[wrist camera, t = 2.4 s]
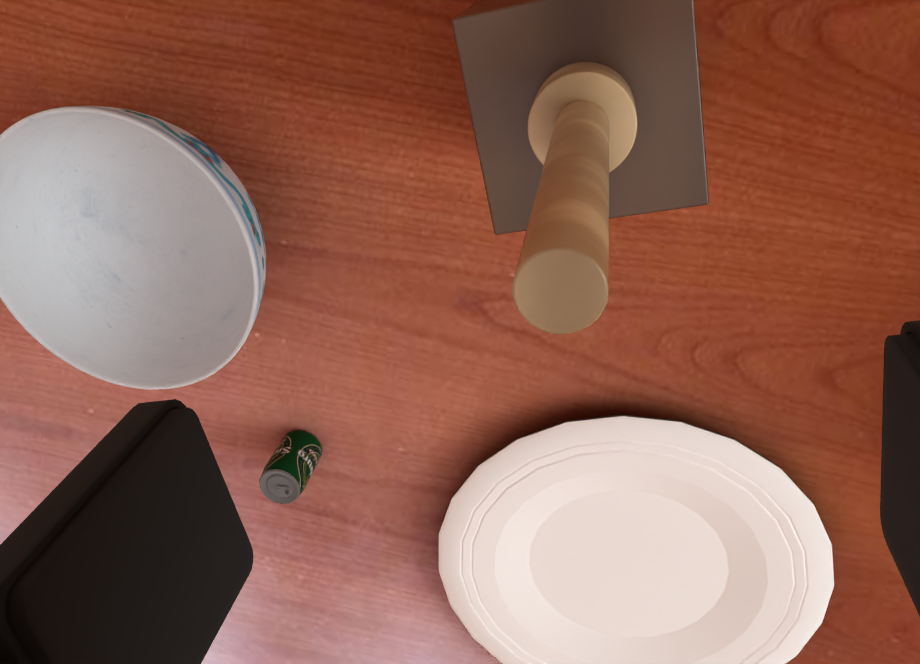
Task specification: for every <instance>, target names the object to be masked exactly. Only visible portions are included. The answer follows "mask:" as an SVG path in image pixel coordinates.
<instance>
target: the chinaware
mask: <svg viewBox="0 0 920 664" xmlns="http://www.w3.org/2000/svg"><path fill="white" fill-rule="evenodd" d="M265 278H266V250H265V242H264V236H263V231H262V227H261V224H260V220H259V217H258V214H257V212H256V209H255V207H254V205H253V202H252V200H251V198H250V196H249V194H248V193H247V191H246V189H245V187H244V186H243V184H242V183H241V181H240V180H239V178H238V177H237V176H236V174H235V173H234V172H233V171H232V169H231V168H230V167H229V166H228V165H227V164H226V162H225V161H224V160H223V159H222V158H221V157H220V156H219V155H218V154H216V153H215V152H214V151H213V150H212V149H211V148H210V147H208V146H207V145H206V144H205V143H203V142H202V141H201V140H199V139H198V138H196V137H195V136H193V135H192V134H190V133H188V132H187V131H185V130H183V129H181V128H179V127H177V126H175V125H173V124H171V123H169V122H167V121H164V120H162V119H159V118H157V117H154V116H151V115H148V114H144V113H141V112H136V111H132V110H127V109H122V108H114V107H105V106H70V107H61V108H54V109H49V110H45V111H42V112H38V113H35V114H33V115H30V116H28V117H26V118H24V119H22V120H20V121H18V122H17V123H15V124H13V125H12V126H11V127H9V128H8V129H7V130H5V131H4V132H3V133H2V134H1V135H0V298H1V300H2V301H3V303H4V304H5V306H6V307H7V308H8V310H9V311H10V312H11V313H12V315H13V316H14V317H15V318H16V320H17V321H18V322H19V323H20V324H21V325H22V326H23V327H24V328H25V329H26V330H27V331H28V332H29V333H30V334H31V335H32V336H33V337H34V338H35V339H36V340H37V341H38V342H39V343H41V344H42V345H43V346H44V347H45V348H47V349H48V350H49V351H51V352H52V353H53V354H55V355H56V356H57V357H59V358H60V359H62V360H64V361H65V362H67V363H68V364H70V365H72V366H74V367H75V368H77V369H79V370H81V371H83V372H85V373H87V374H89V375H92V376H94V377H96V378H99V379H102V380H104V381H107V382H111V383H114V384H118V385H122V386H126V387H132V388H139V389H171V388H177V387H182V386H186V385H190V384H193V383H196V382H198V381H201V380H203V379H205V378H207V377H209V376H211V375H212V374H214V373H215V372H217V371H218V370H220V369H221V368H222V367H224V366H225V365H226V364H227V363H228V362H229V361H230V360H231V359H232V358H233V357H234V356H235V355H236V354H237V352H238V351H239V350H240V348H241V347H242V345H243V344H244V342H245V340H246V339H247V337H248V335H249V333H250V331H251V329H252V327H253V324H254V322H255V319H256V317H257V314H258V311H259V308H260V304H261V300H262V296H263V291H264V286H265Z"/></svg>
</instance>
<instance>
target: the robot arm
mask: <svg viewBox="0 0 920 664" xmlns="http://www.w3.org/2000/svg"><path fill="white" fill-rule="evenodd" d="M880 517H881V525H882V530H883V534H884V537H885V540H886V543H887V545H888V548H889V550H890V552H891V554H892V556H893V559H894V561H895V563H896V565H897V567H898V570H899V572H900V574H901V576H902V578H903V581H904V583H905V585H906V587H907V589H908V592H909V594H910V596H911V598H912V600H913V603H914V605H915V607H916V609H917V611H918V614H919V616H920V321H911V322H905V323H904V325H903V326H902V329H901V334H900V335H892V336H888V337H887V338H886V341H885V347H884V379H883V420H882V460H881V501H880ZM252 565H253V550H252V546H251V543H250V541H249V539H248V536H247V534H246V531H245V529H244V527H243V524H242V522H241V519H240V517H239V515H238V512H237V510H236V507H235V505H234V503H233V500H232V498H231V495H230V493H229V491H228V488H227V486H226V483H225V481H224V479H223V476H222V474H221V471H220V469H219V467H218V464H217V462H216V459H215V457H214V455H213V452H212V450H211V447H210V445H209V442H208V440H207V438H206V435H205V433H204V430H203V428H202V426H201V423H200V421H199V418H198V416H197V415H196V413H195V412H194V411H193V410H192V409H190V408H186V406H185V405H184V404H183V403H182V402H181V401H178V400H176V399H174V400H165V401H155V402H146V403H139V404H137V405H136V406H134V407H133V408H132V409H131V410H130V411H129V412H128V413H127V414H126V415H125V416H124V417H123V419H122V420H121V421H120V422H119V423H118V424H117V425H116V426H115V427H114V428H113V429H112V430H111V431H110V432H109V433H108V434H107V435H106V436H105V437H104V438H103V439H102V440H101V441H100V442H99V443H98V444H97V445H96V446H95V447H94V449H93V450H92V451H91V452H90V453H89V454H88V455H87V456H86V457H85V458H84V459H83V460H82V461H81V462H80V463H79V464H78V465H77V466H76V467H75V468H74V469H73V470H72V471H71V472H70V473H69V474H68V475H67V476H66V477H65V479H64V480H63V481H62V482H61V483H60V484H59V485H58V486H57V487H56V488H55V489H54V490H53V491H52V492H51V493H50V494H49V495H48V496H47V497H46V498H45V499H44V500H43V501H42V502H41V503H40V504H39V505H38V506H37V508H36V509H35V510H34V511H33V512H32V513H31V514H30V515H29V516H28V517H27V518H26V519H25V520H24V521H23V522H22V523H21V524H20V525H19V526H18V527H17V528H16V529H15V530H14V531H13V532H12V533H11V534H10V535H9V536H8V538H7V539H6V540H5V541H4V542H3V543H2V544H1V545H0V664H201V662H202V661H203V659H204V657H205V655H206V653H207V651H208V649H209V648H210V646H211V644H212V642H213V640H214V638H215V637H216V635H217V633H218V631H219V629H220V627H221V625H222V624H223V622H224V620H225V618H226V616H227V614H228V613H229V611H230V609H231V607H232V605H233V603H234V601H235V600H236V598H237V596H238V594H239V592H240V590H241V589H242V587H243V585H244V583H245V581H246V579H247V577H248V576H249V574H250V571H251V569H252Z"/></svg>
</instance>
